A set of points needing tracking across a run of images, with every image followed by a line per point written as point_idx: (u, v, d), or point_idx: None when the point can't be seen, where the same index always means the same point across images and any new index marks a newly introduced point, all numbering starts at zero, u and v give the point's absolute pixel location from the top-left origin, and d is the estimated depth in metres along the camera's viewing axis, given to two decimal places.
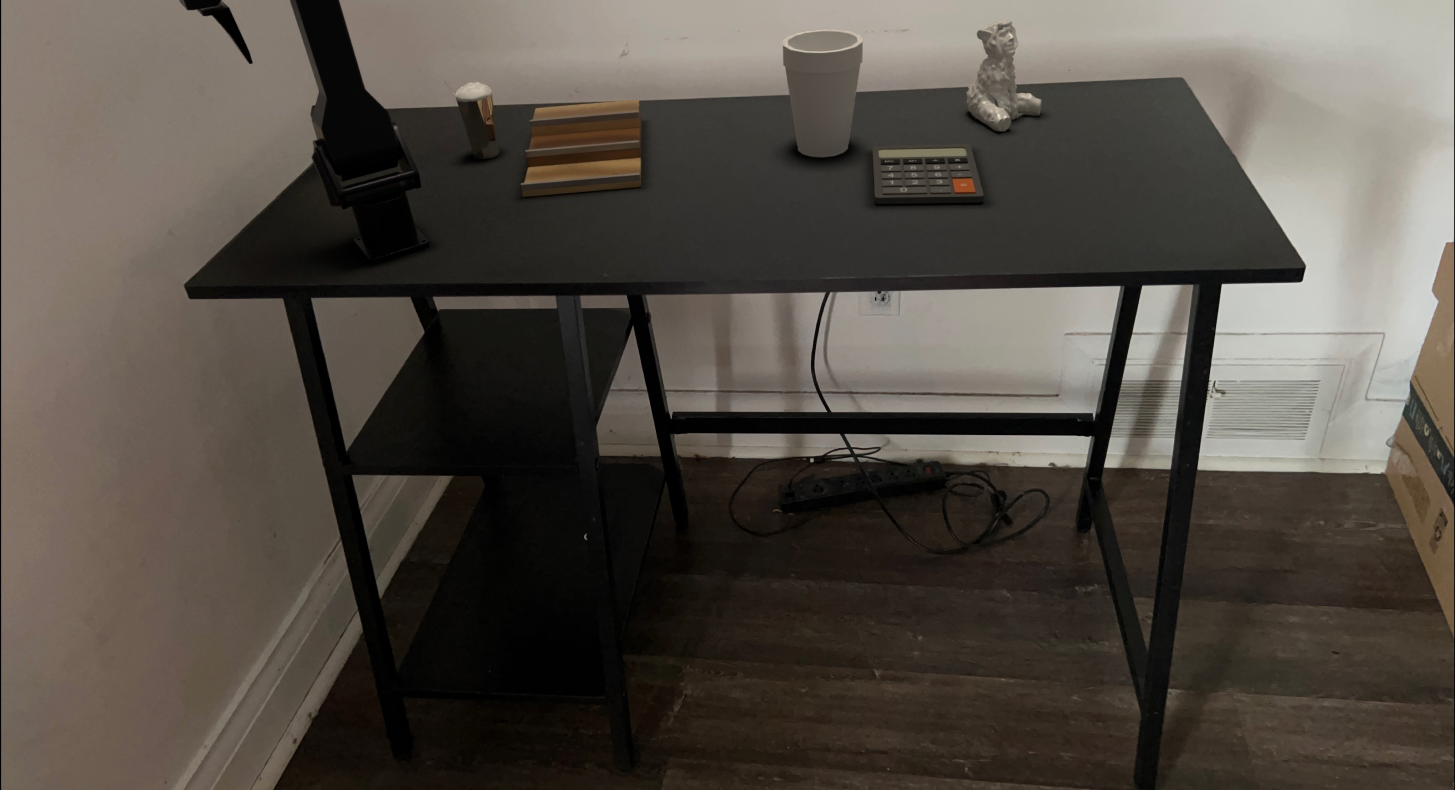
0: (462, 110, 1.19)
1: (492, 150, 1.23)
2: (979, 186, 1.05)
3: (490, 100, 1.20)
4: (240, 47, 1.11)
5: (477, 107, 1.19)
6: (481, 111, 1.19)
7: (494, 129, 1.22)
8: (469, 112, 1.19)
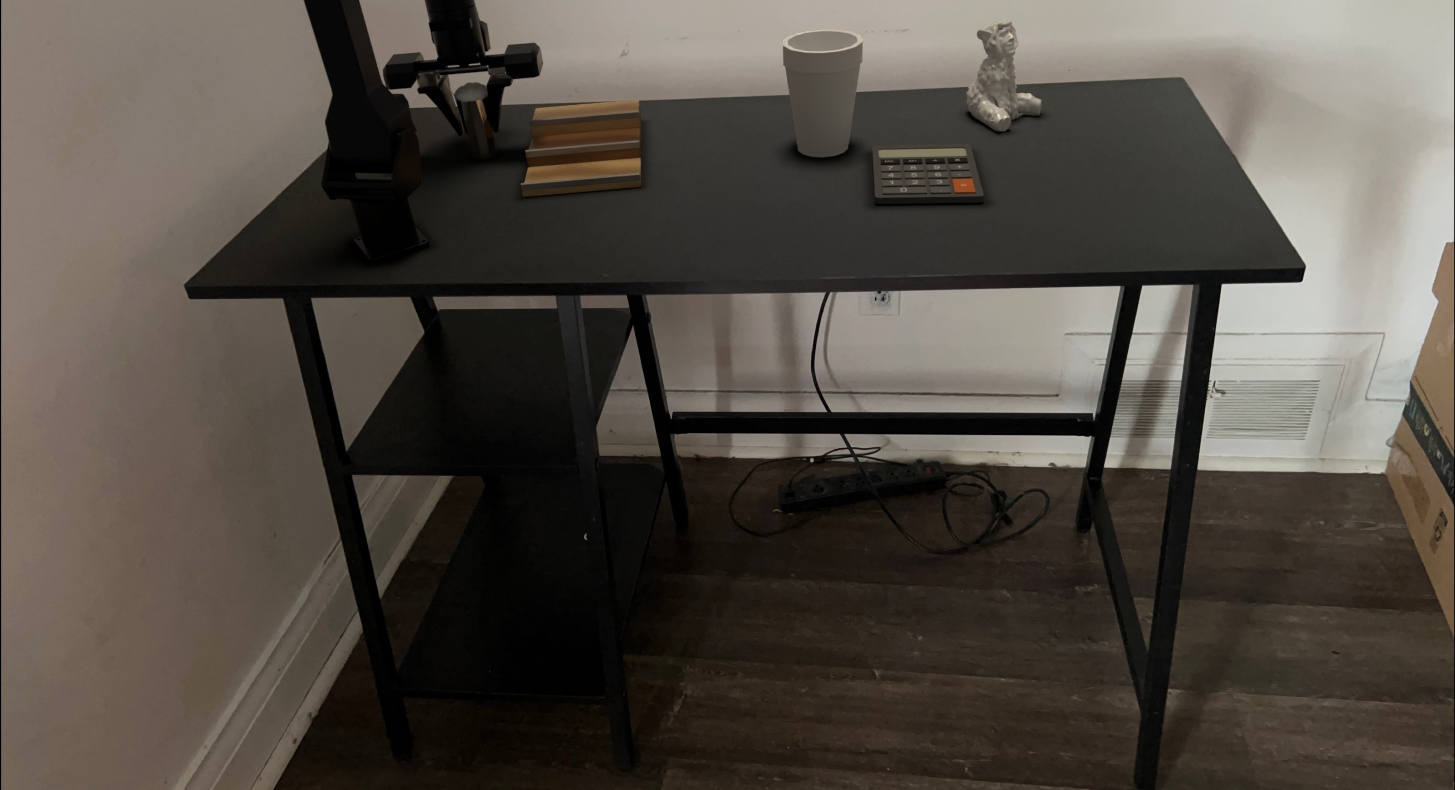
0: (461, 110, 1.19)
1: (490, 150, 1.23)
2: (979, 186, 1.05)
3: None
4: (450, 121, 1.20)
5: (476, 107, 1.19)
6: (480, 111, 1.19)
7: (492, 129, 1.22)
8: (468, 112, 1.19)
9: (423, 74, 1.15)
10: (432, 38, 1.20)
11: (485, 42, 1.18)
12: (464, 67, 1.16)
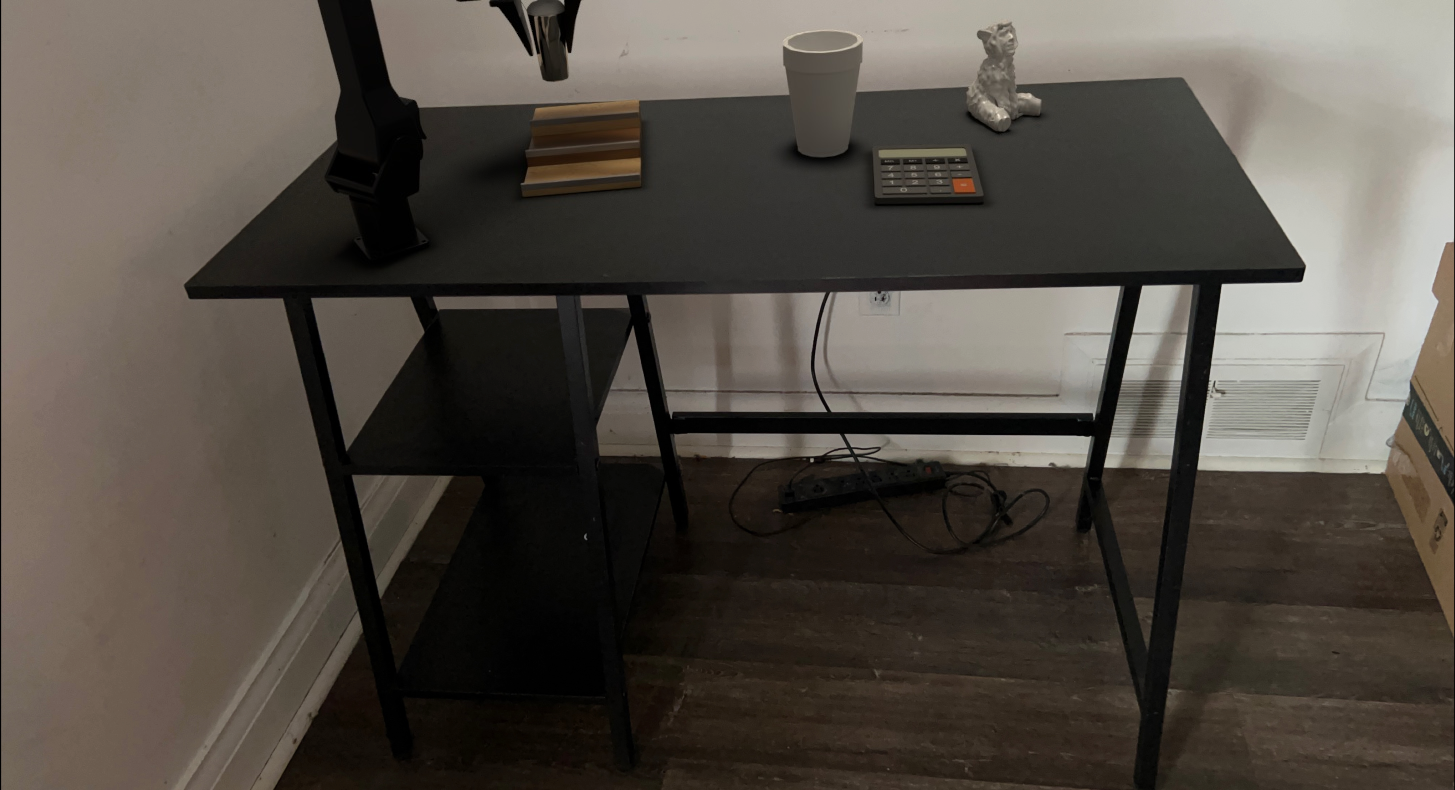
0: (534, 26, 1.11)
1: (563, 72, 1.15)
2: (979, 186, 1.05)
3: (564, 16, 1.12)
4: (522, 39, 1.12)
5: (550, 23, 1.11)
6: (554, 28, 1.11)
7: (566, 49, 1.14)
8: (541, 28, 1.11)
9: None
10: None
11: None
12: None
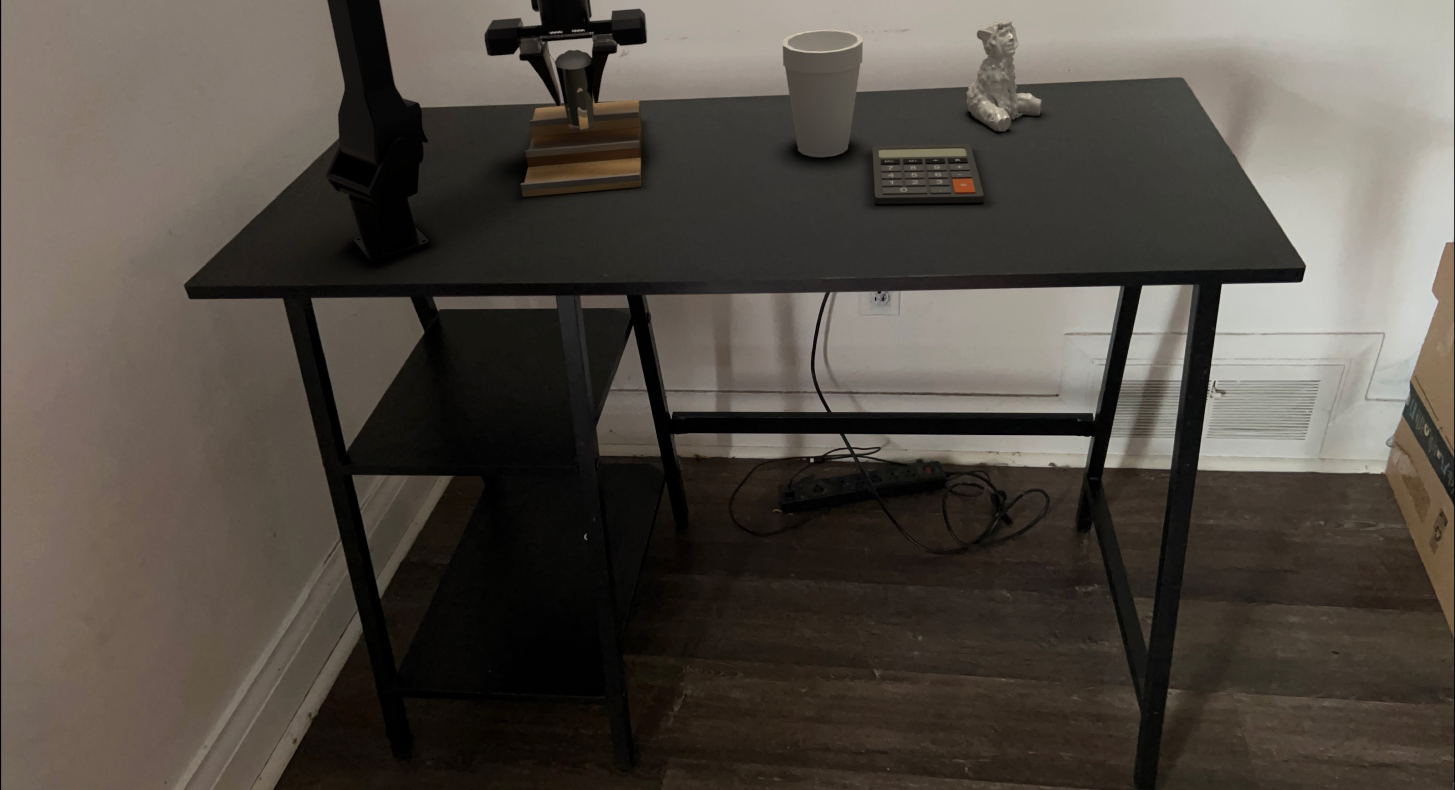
0: (562, 78, 1.14)
1: (589, 121, 1.18)
2: (979, 186, 1.05)
3: (591, 69, 1.15)
4: (550, 91, 1.15)
5: (578, 75, 1.14)
6: (582, 80, 1.14)
7: (592, 99, 1.17)
8: (569, 80, 1.14)
9: (526, 40, 1.11)
10: (532, 4, 1.15)
11: (589, 8, 1.13)
12: (568, 33, 1.11)
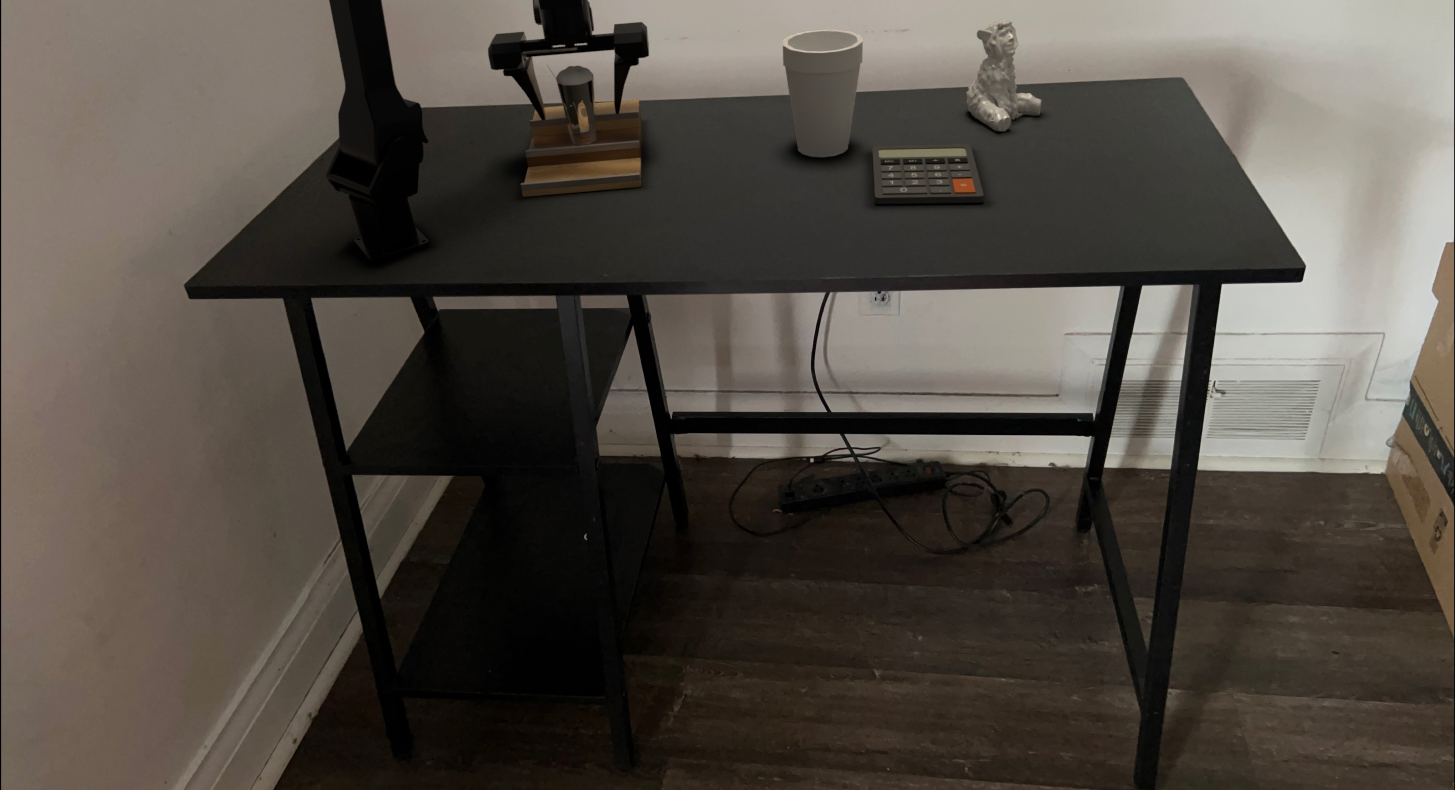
0: (563, 94, 1.16)
1: (591, 136, 1.19)
2: (979, 186, 1.05)
3: (592, 84, 1.16)
4: (534, 105, 1.16)
5: (579, 91, 1.15)
6: (583, 95, 1.15)
7: (594, 114, 1.18)
8: (571, 96, 1.15)
9: None
10: (535, 17, 1.16)
11: (591, 21, 1.14)
12: (552, 48, 1.12)
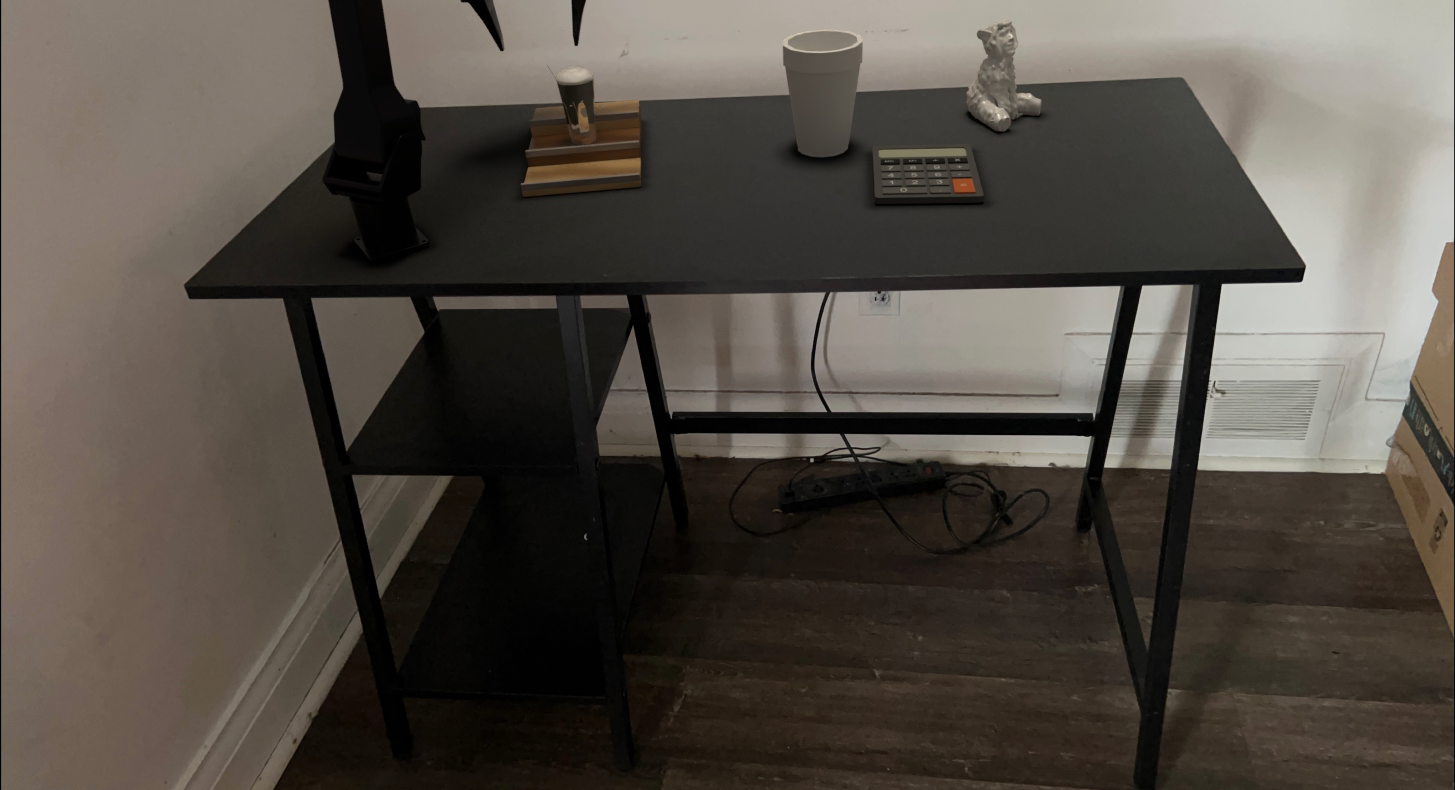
0: (563, 94, 1.16)
1: (591, 136, 1.19)
2: (979, 186, 1.05)
3: (592, 84, 1.16)
4: (492, 34, 1.16)
5: (579, 91, 1.15)
6: (583, 95, 1.15)
7: (594, 114, 1.18)
8: (571, 96, 1.15)
9: None
10: None
11: None
12: None
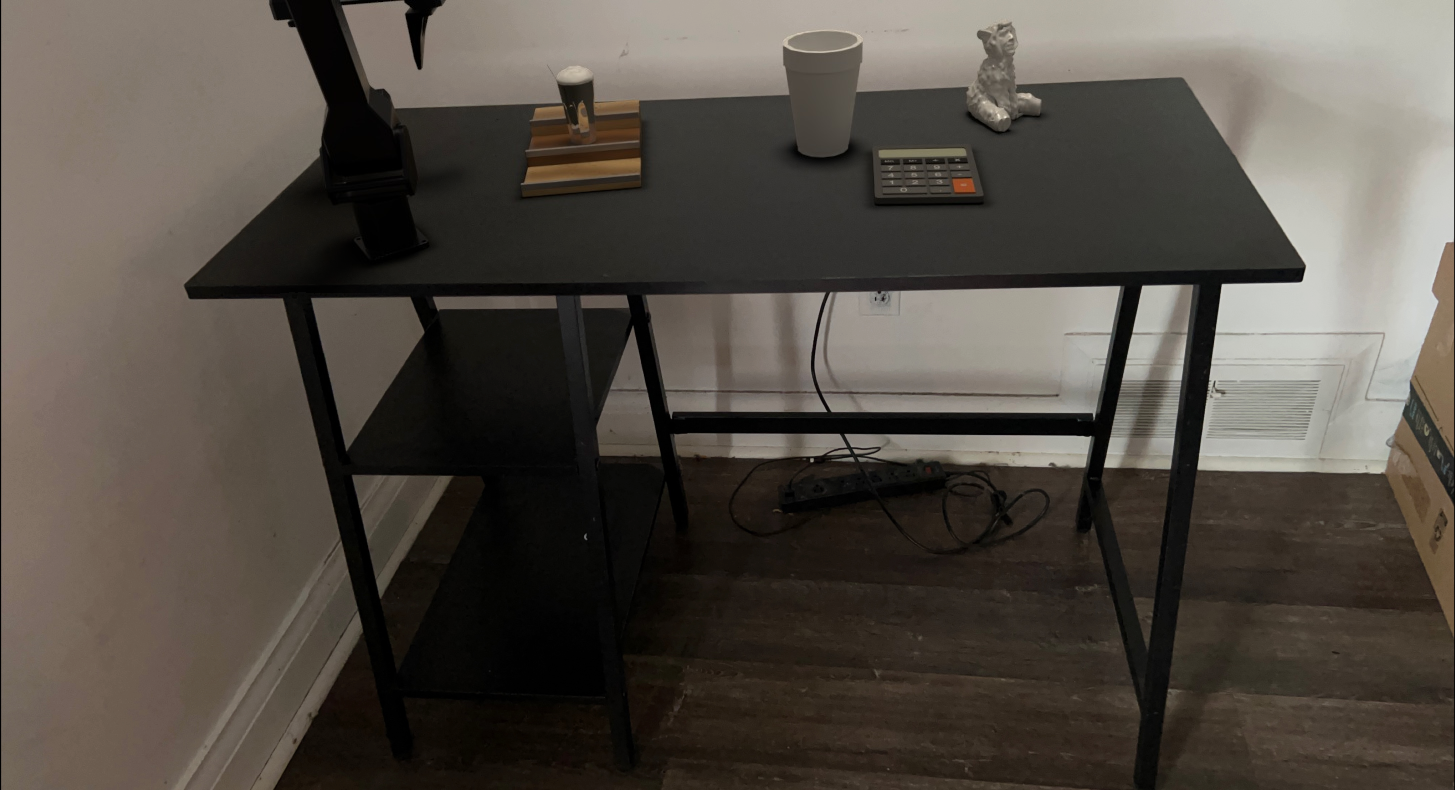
0: (563, 94, 1.16)
1: (591, 136, 1.19)
2: (979, 186, 1.05)
3: (592, 84, 1.16)
4: None
5: (579, 91, 1.15)
6: (583, 95, 1.15)
7: (594, 114, 1.18)
8: (571, 96, 1.15)
9: None
10: None
11: None
12: None
